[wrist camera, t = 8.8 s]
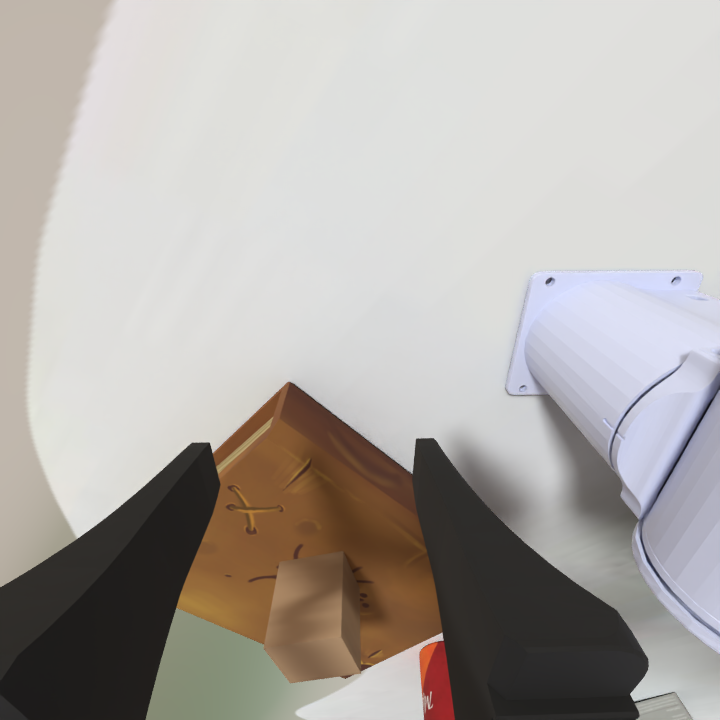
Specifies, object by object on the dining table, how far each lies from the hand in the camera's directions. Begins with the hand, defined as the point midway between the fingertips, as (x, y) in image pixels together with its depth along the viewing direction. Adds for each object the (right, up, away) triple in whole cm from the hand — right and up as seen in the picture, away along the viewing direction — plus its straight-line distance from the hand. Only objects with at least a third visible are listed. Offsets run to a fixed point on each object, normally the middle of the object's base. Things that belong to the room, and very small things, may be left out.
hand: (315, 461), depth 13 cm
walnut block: (-1, -12, +13) cm, 17 cm away
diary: (-1, -10, +18) cm, 21 cm away
